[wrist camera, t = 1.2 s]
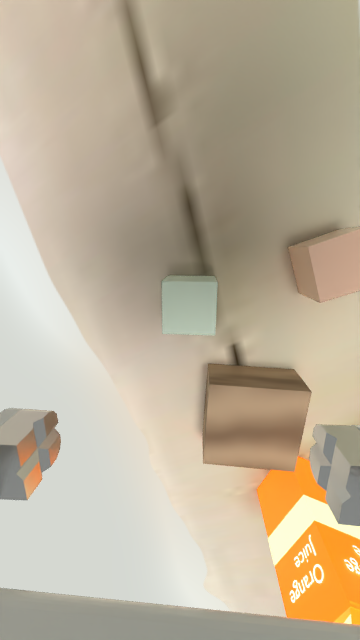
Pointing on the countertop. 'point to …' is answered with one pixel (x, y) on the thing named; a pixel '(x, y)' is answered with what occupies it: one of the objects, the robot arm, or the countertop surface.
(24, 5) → the countertop surface
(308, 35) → the countertop surface
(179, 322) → the sage cube
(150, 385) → the countertop surface
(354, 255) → the terracotta cube
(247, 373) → the walnut block
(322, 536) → the orange juice
